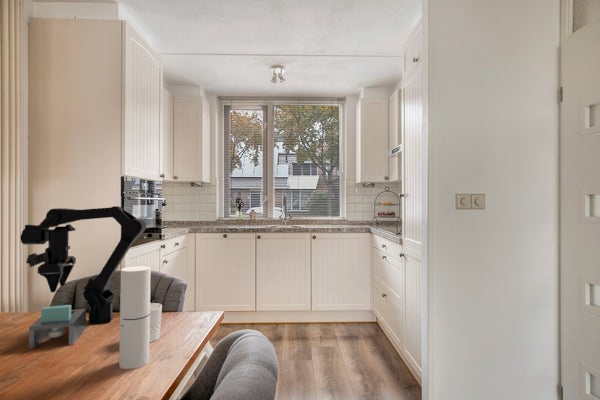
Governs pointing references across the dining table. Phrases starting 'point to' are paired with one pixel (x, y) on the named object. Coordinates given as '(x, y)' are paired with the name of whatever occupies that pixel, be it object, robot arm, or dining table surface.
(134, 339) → the cylindrical container
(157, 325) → the white cup
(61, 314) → the peg
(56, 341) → the dining table surface
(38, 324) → the grey square frame stand
